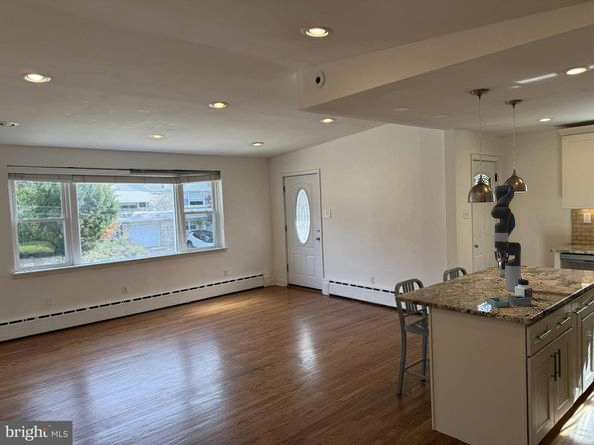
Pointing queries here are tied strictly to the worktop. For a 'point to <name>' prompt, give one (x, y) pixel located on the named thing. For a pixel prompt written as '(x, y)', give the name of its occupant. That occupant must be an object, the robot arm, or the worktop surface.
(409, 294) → the worktop surface
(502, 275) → the brass-capped metal pin
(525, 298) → the block
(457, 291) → the worktop surface
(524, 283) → the medicine bottle
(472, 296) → the worktop surface
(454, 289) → the worktop surface
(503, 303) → the tray
